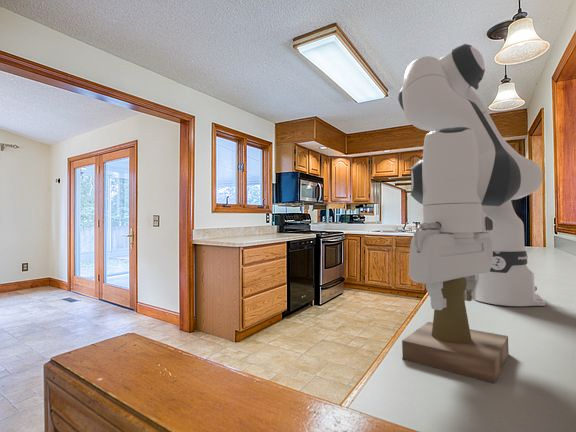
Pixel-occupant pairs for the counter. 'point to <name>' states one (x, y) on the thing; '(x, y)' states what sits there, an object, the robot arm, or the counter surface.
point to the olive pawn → (452, 314)
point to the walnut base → (459, 353)
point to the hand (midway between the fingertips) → (454, 304)
